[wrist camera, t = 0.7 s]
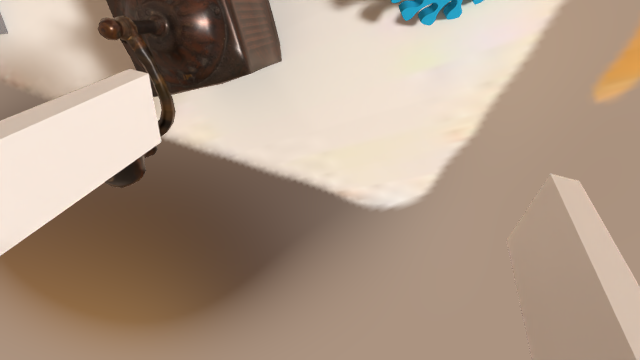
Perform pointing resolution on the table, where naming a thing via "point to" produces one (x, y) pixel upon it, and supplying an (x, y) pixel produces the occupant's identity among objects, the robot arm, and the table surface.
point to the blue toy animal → (431, 9)
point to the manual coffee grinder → (189, 49)
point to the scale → (2, 26)
